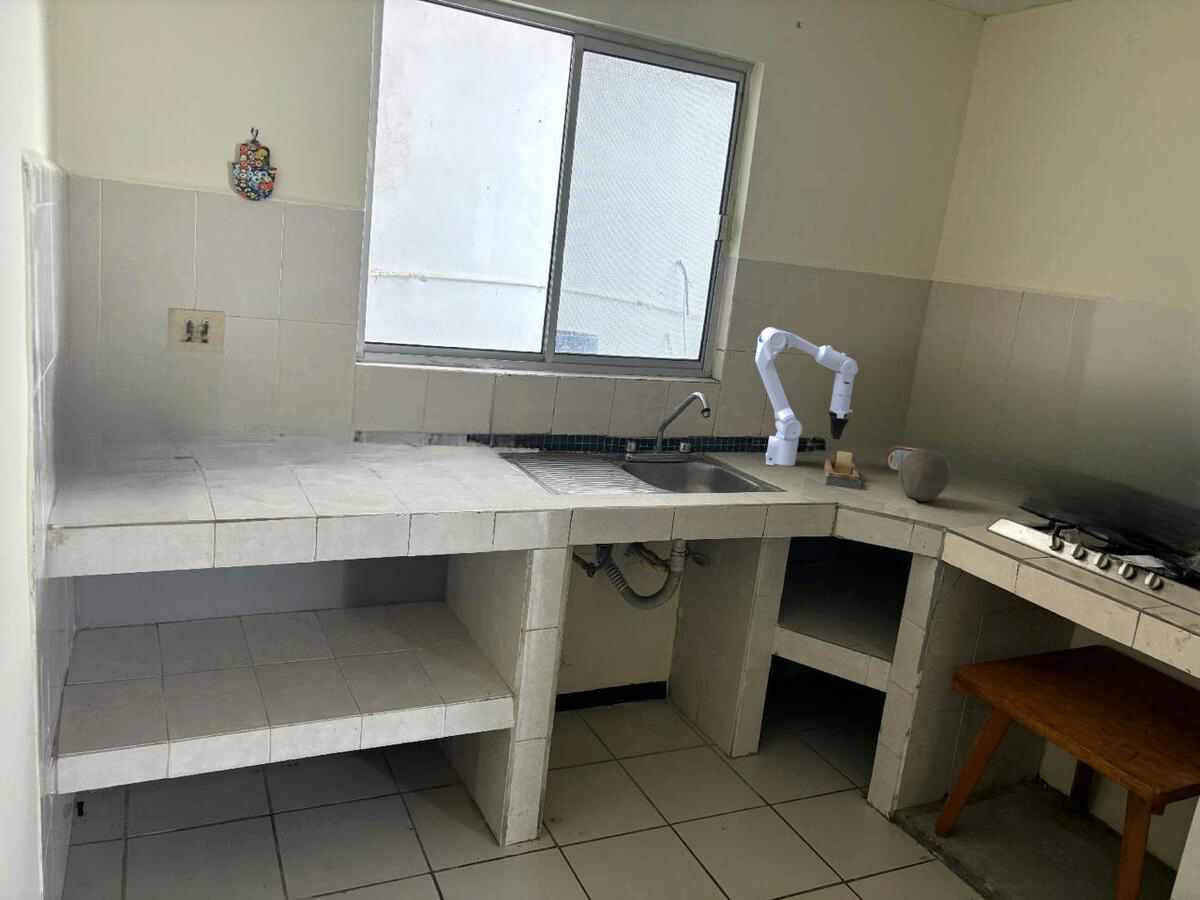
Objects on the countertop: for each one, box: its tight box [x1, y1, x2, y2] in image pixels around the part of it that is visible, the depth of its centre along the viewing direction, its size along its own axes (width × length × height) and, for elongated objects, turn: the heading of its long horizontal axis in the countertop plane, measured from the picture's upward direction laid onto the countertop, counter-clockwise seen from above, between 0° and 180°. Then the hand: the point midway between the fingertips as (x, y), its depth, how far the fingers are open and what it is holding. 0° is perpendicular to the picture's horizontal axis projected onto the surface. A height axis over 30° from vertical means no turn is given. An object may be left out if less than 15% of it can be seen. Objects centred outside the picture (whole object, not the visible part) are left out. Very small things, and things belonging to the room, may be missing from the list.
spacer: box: [834, 450, 853, 475], centre depth 284 cm, size 4×4×7 cm
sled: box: [823, 454, 860, 481], centre depth 285 cm, size 9×20×5 cm, turn 170°
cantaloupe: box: [897, 448, 953, 503], centre depth 269 cm, size 14×14×15 cm
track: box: [824, 475, 863, 490], centre depth 287 cm, size 11×29×3 cm, turn 170°
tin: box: [883, 445, 922, 472], centre depth 305 cm, size 15×3×8 cm, turn 84°
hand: (835, 436), depth 298 cm, fingers open, 7 cm apart
